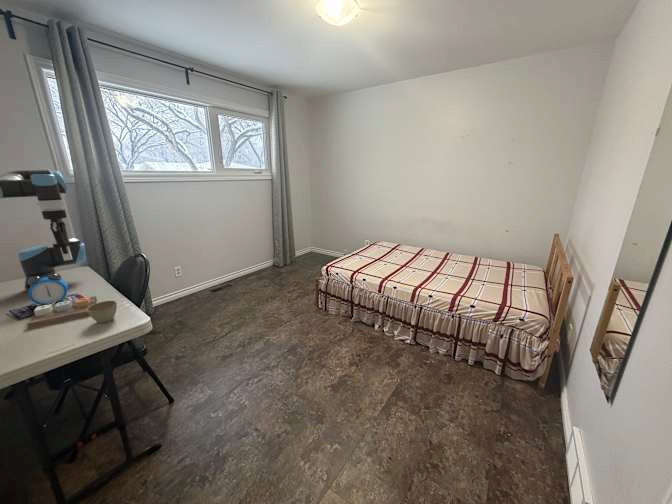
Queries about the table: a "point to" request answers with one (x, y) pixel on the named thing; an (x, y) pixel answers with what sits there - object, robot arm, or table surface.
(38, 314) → the tile
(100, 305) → the beige bowl
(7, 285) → the table surface
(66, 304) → the two-dot tile
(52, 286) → the alarm clock
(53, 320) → the board
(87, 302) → the tile
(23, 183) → the robot arm
